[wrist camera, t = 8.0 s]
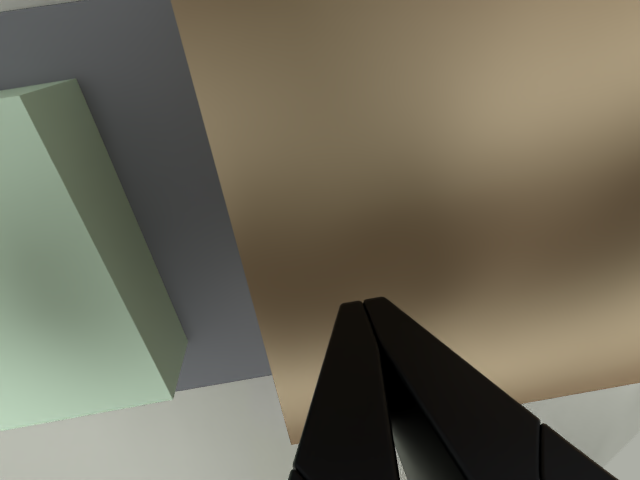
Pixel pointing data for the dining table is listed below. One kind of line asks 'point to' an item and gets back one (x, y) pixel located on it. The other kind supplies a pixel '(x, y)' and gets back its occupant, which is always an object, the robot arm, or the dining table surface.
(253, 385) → the dining table surface
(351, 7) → the deck
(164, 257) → the mat
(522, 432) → the robot arm
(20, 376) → the sage green tile
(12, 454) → the dining table surface
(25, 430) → the dining table surface
